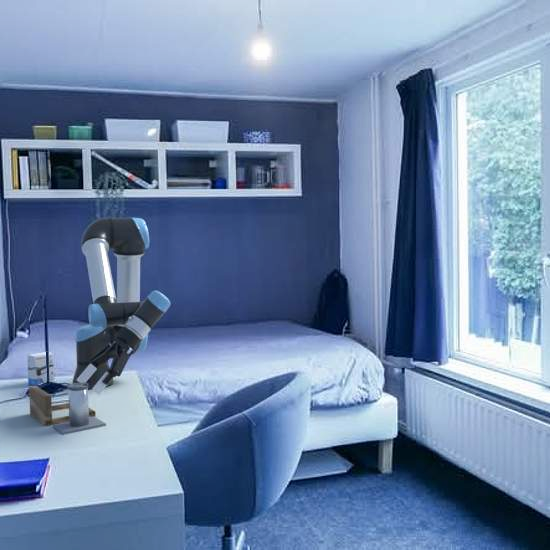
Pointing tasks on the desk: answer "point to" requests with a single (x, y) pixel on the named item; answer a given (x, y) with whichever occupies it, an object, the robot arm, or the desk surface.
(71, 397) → the canister
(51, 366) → the ink box
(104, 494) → the desk surface
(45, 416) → the frame
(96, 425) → the felt pad
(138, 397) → the desk surface
